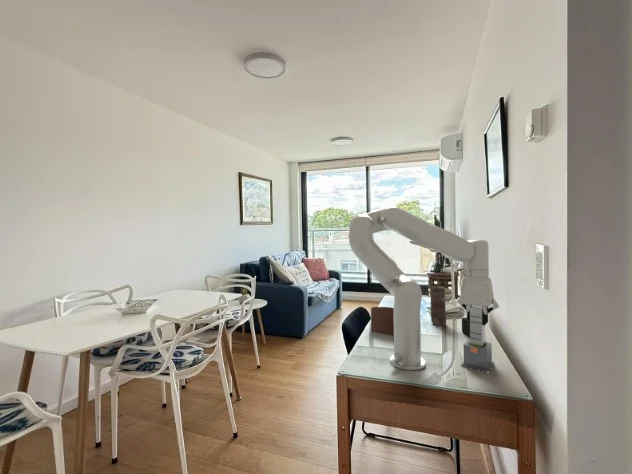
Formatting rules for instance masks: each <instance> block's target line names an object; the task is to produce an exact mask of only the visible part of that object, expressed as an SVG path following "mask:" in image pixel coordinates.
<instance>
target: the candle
mask: <svg viewBox="0 0 632 474" xmlns="http://www.w3.org/2000/svg"><path fill="white" fill-rule="evenodd" d="M429 289H430V291H429V292H430V321H431V323H433V325H437V326H439V327H443V326H445V325H447V313H446V309H447V308H446V291H445V290H446V288H445V287H444V286H430V288H429Z"/></svg>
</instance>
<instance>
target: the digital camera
mask: <svg viewBox="0 0 632 474" xmlns="http://www.w3.org/2000/svg"><path fill="white" fill-rule="evenodd" d="M461 333H463V334H464V335H465V336H467V337H469V338H470V323H468V320H467V317H461Z"/></svg>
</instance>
